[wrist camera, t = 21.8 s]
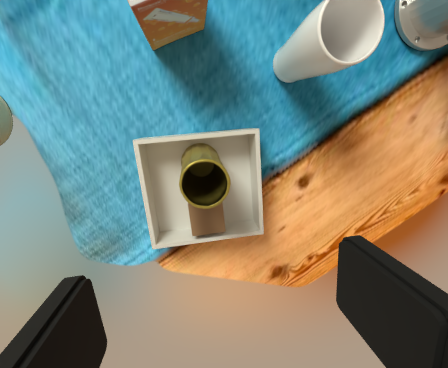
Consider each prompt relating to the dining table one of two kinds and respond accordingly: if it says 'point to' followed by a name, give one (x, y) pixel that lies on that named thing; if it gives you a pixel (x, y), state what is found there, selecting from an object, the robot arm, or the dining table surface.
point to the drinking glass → (331, 39)
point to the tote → (173, 199)
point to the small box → (168, 19)
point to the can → (5, 121)
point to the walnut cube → (206, 220)
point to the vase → (203, 177)
